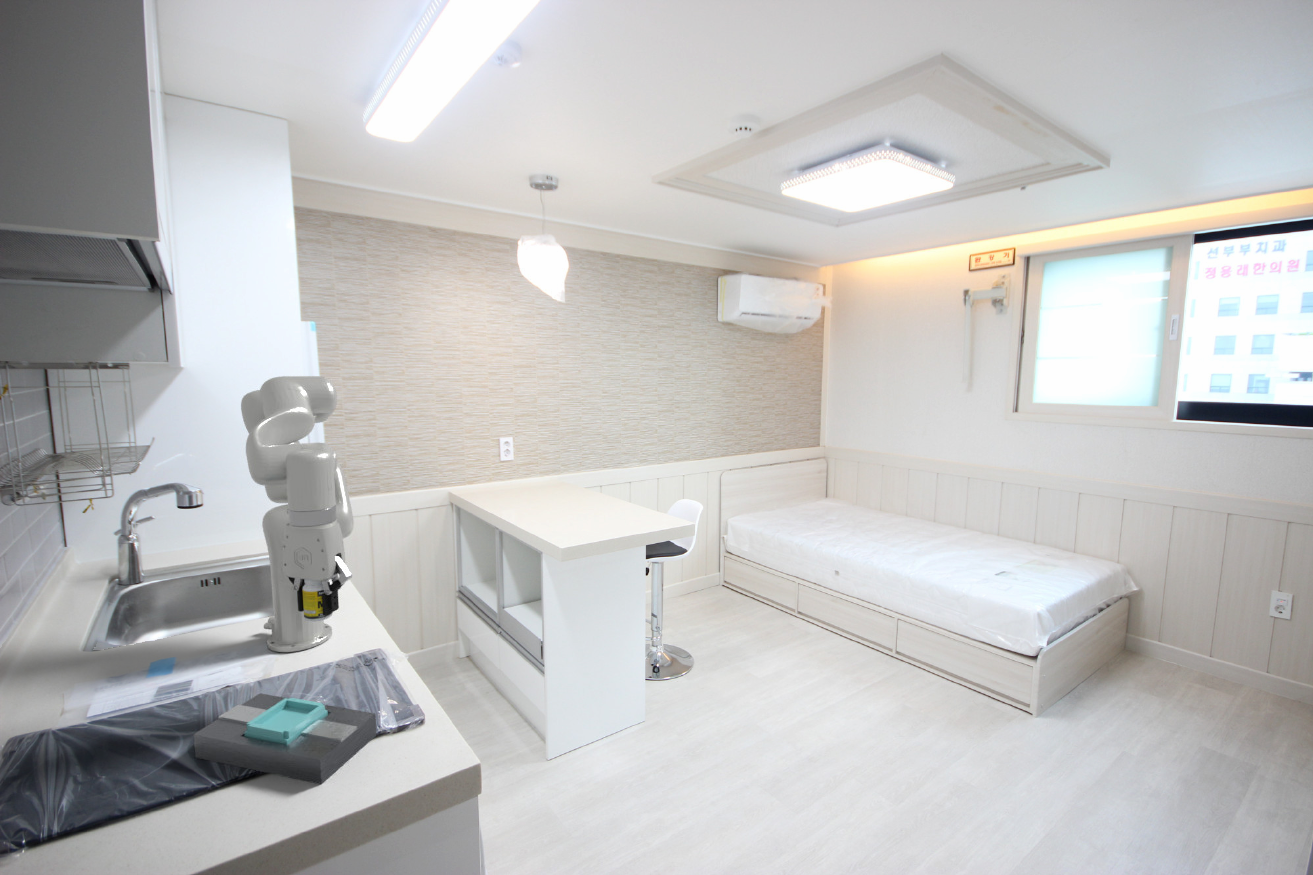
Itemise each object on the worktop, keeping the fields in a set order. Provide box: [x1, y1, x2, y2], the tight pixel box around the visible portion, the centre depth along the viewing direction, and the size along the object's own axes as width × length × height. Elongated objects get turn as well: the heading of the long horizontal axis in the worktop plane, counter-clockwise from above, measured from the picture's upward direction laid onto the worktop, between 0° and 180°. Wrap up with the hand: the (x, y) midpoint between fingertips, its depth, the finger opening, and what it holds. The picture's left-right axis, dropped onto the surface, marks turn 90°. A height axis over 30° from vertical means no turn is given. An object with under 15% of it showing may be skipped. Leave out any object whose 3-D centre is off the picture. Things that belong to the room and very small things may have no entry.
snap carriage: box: [244, 697, 328, 745], centre depth 96 cm, size 8×8×3 cm
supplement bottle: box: [303, 579, 334, 622], centre depth 109 cm, size 5×5×8 cm
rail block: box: [193, 693, 377, 785], centre depth 96 cm, size 24×12×4 cm, turn 77°
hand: (318, 609), depth 109 cm, fingers closed on supplement bottle, 4 cm apart
